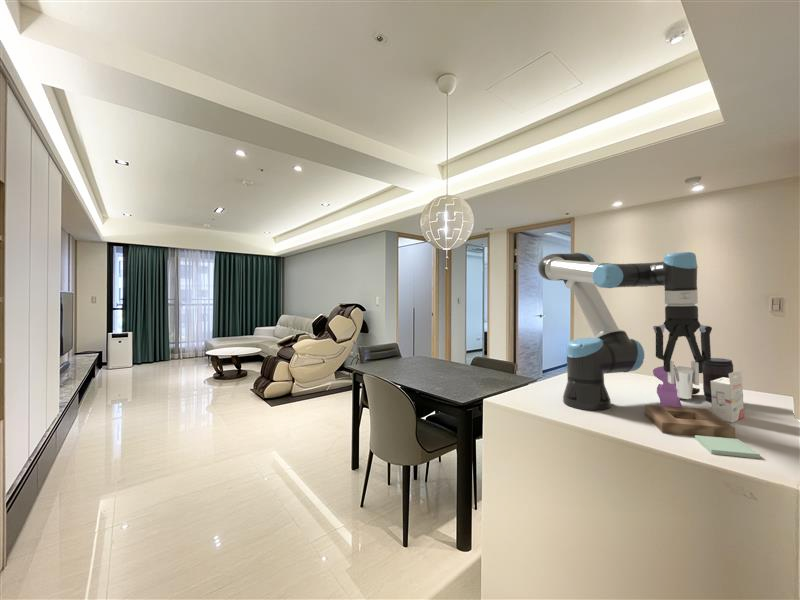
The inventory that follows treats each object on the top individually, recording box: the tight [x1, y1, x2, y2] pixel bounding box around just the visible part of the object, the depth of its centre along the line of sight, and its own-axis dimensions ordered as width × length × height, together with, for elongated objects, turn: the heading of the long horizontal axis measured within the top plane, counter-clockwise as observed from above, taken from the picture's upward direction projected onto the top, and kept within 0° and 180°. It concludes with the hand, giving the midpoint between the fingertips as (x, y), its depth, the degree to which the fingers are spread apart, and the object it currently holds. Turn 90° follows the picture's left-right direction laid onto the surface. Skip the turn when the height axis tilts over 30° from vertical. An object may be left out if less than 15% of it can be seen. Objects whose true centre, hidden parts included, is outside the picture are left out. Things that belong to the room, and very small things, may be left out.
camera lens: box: [701, 357, 734, 404], centre depth 120 cm, size 8×8×15 cm
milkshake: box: [674, 364, 694, 400], centre depth 101 cm, size 4×5×10 cm
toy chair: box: [652, 365, 683, 407], centre depth 114 cm, size 8×9×15 cm
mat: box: [694, 435, 761, 459], centre depth 85 cm, size 9×9×1 cm
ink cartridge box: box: [710, 370, 745, 424], centre depth 105 cm, size 9×5×15 cm, turn 117°
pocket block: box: [644, 404, 736, 439], centre depth 101 cm, size 16×16×3 cm
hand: (683, 383), depth 101 cm, fingers closed on milkshake, 5 cm apart
